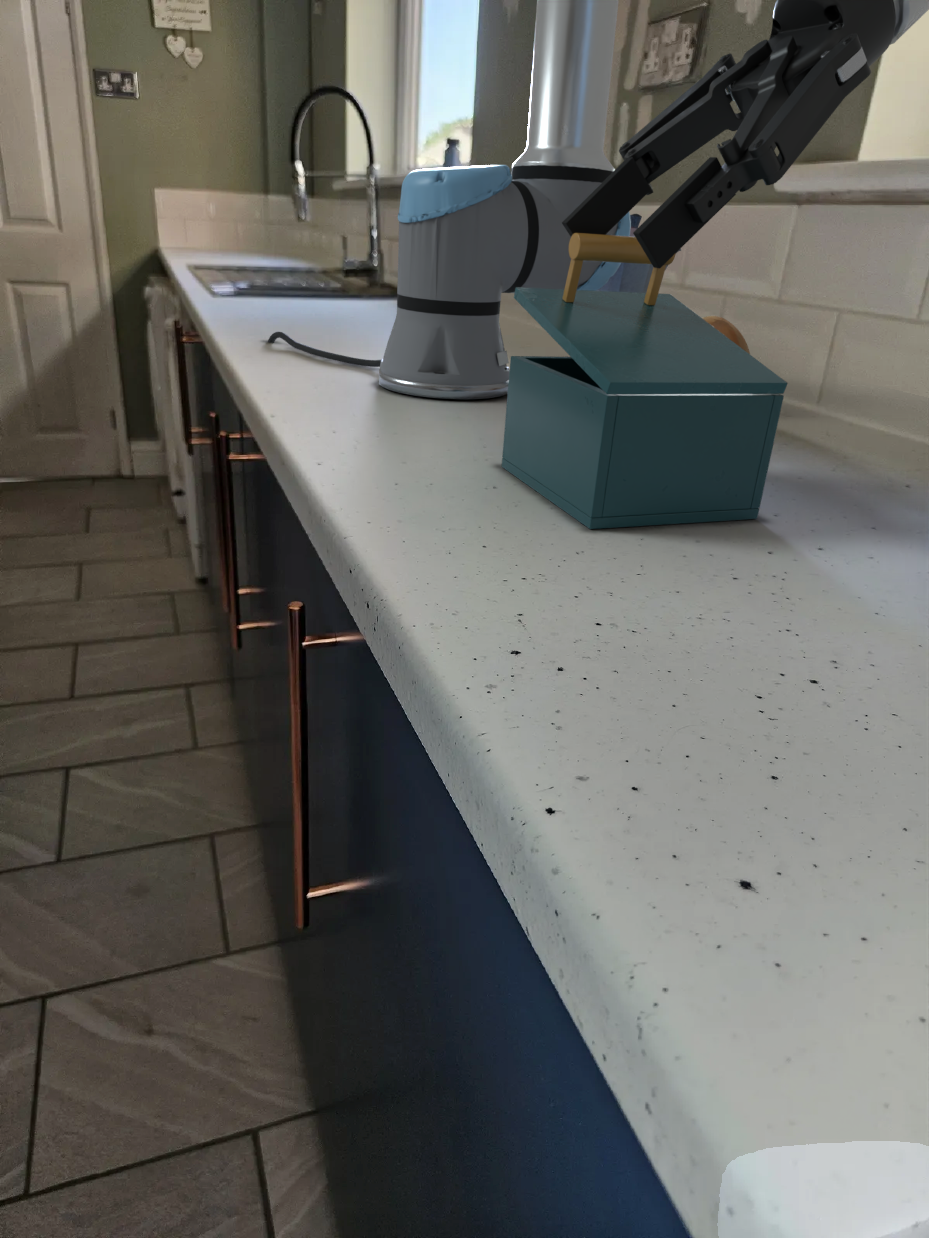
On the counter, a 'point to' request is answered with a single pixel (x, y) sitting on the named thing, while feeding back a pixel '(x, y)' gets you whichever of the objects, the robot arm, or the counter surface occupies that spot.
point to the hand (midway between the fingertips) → (607, 244)
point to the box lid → (641, 332)
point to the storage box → (635, 448)
